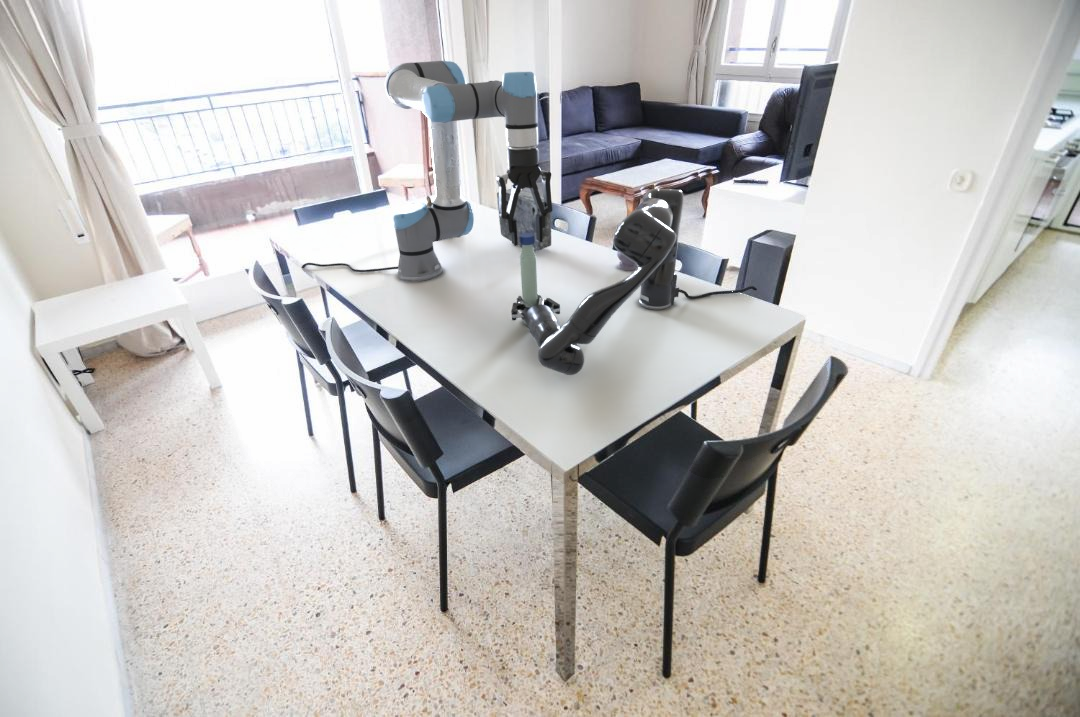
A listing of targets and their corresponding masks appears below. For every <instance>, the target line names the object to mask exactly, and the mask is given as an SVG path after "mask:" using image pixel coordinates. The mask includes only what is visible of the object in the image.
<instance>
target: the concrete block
mask: <svg viewBox="0 0 1080 717" xmlns="http://www.w3.org/2000/svg"><path fill="white" fill-rule="evenodd" d="M511 191H512V190H511V188H508V189H506V213H507V208H508V204H509V200H510V195H511ZM496 197H497V208H498V210H499V191H498V192H497V193H496ZM540 197H541V200H542V203H543V206H544V197H543V195H541V194H540ZM536 214H539V213H538V210H537V207H536V204H535V202H534V199H533V196H532V193H531V191H527V190H523V189H521V191H520V193H519V196H518V200H517V205H516V209H515V213H514V217H513V218H514V219H515V220H516V224H517V241H518V246H519V247H521V248H523V247H522V244H520V234H523V233H532V234H534V236H535V243H534V244H532V247H533V250H534V251H542V250H544V249H546V248H548V247H551V245H552V212H550V213H547V216H546V217H545V225H546V226H545V228H542V235H543V242H539V241H538V240H537V239H536ZM498 219H499V221H498V222H499V228H500V234H501V236H503V238H505V239H507V240H508V241H511V242H512V238H511V233H509V232H508V230H507V220H506V219H503V218H501V217H500V216H499V215H498Z"/></svg>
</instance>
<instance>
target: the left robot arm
mask: <svg viewBox="0 0 1080 717" xmlns="http://www.w3.org/2000/svg"><path fill="white" fill-rule="evenodd" d="M384 90H385V94H386V96H387V98H388V99H389V101H390V102H391V103H392V104H393V105H395V106H396V107H397V108H401V109H405V110H410V109H415V110H418V111H421V112H422V113H423V114H424V115H425V116H426V118H428V127H429V137H430V147H431V148H430V149H431V159H432V169H433V180H434V191H435V192H434V193H435V195H434V196H433V197H432V198H431V203H432V206H431V207H427V203H424V202H423V203H422V202H417V203H410V204H406V205H403V206H401V207H399V208H397V209H396V210H395V211H394V213H393V215H392V219H393V228H394V230H395V231H394V232H395V236H396V241H397V247H398V251H399V259H398V265H397V266H389V267H382V268H381V267H380V268H370V269H356V268H353V266H352V265H350V264H348V263H343V262H340V263H339V262H337V263H325V264H324V263H323V264H320V263H314V262H306V263H303V265H302V266H301V269H304V268H305V267H306V266H313V267H314V266H315V267H319V268H320V267H321V268H323V267H337V266H342V267H343V266H344V267H345V266H346V267H348V268H349V269H350V270H351V271H352V272H356V273H372V272H382V271H391V270H397V276H398V278H399V279H400V280H402V281H406V282H413V283H414V282H425V281H429V280H432V279H435V278H438V277H439V276H440V275H441V274H442V273H443V268H442V264H441V263H440V260H439V259H438V256H437V254H436V252H435V250H434V243H435V242H440V241H446V240H450V239H455V238H460V237H463V236H466V235H469V234H470V232H471V231H472V230H473V227H474V219H475V218H474V217H475V216H474V212H473V207H472V205H471V203H470V202H469V201H468V200H467V198H466V197H465V196H464V195H463V194H462V183H461V170H460V169H461V166H460V151H459V150H460V148H459V133H458V121H466V120H480V119H491V118H504V124H505V125H504V126H505V140H506V142H505V143H506V146H507V147H508V148H507V150H506V156H507V157H506V158H507V170H506V173H504V174H502V175H497V176H496V177H495V180H496V182H497V185H498V192H499V209H498V217H499V216H500V217H501V218H503V219H506V220H507V230H508V232H509V233H511V238H512V241H511V244H512V245H513V246H515V247H518V246H519V245H518V241H517V224H516V220H515V219H514V218H513V217H514V213H515V209H516V205H517V200H518V196H519V193H520V191H521V190H523V189H525V188H526V189H529V190H530V192H531V193H532V196H533V199H534V202H535V204H536V207H537V210H538V213H539V214H536V239H537V240H538V241H539V242H543V235H542V228H545V226H546V225H545V217H546V216H547V213H550V212H551V213H552V212H553V202H552V192H551V179H552V172H550V171H549V170H541V167H540V154H539V153H540V151H539V148H538V145H539V128H538V121H539V120H538V89H537V78H536V74H535V73H534V72H533V71H510V72H509V71H508V72H505V73H503V75H502V81H500V80H489V81H483V82H470V83H467V80H466V77H465V75H464V72H463V71H462V68H461V67H460V66H459V64H458V63H456V62H454V61H451V60H434V61H433V60H432V61H417V62H405V63H400V64H398V65H396V66H394V67H393V68H391V69H390V70H389V72H388V73H387V75H386V77H385V81H384ZM539 177H540V179H541V186H542V196H543V197H544V206H543V203H542V200H541V197H540V195H541V194H540V192H539V187H538V184H537V181H538V180H539ZM508 180H509V181H510V182H511V183H512V184H511V187H510V189H511V190H512V191H511V195H510V200H509V204H508V208H507V213H506V190H507V184H508Z"/></svg>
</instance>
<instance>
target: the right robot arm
mask: <svg viewBox="0 0 1080 717" xmlns="http://www.w3.org/2000/svg"><path fill="white" fill-rule="evenodd" d="M684 202H685V196H684V192H683V191H682V190H681V189H674V188H673V189H670V188H667V189H666V188H652V189H648V190H647V191H646V192H645V194H644V195H643V197H642V200H641V202H640V203H639V204H638V205H637V206H636V207H635V208H634V209H633V210H632V211H631V212H630V213H629V214H627V215H626V216H625V217H624V218H623V220H622V221H621V222H620V223H619V225H618V227H617V228H616V230H615V232H614V235H613V239H612V243H613V247H614V249H615V250H616V251H617V252H618V251H619V252H620V253H621V254H622V255H624V256H625V257H627V258H628V259H630V260H631V261H632V262H634V263H636V264H637V268H636V269H634V270H632V272H631V273H630V274H629V275H627V276H626V277H624V278H623V279H621V280H619V281H617V282H615V283H613V284H610V285H607V286H605V287H602V288H600V289H598V290H596V291H593V292H591V293H590V294H589V295H587V296H586V297H584V299H583V300H582V301H580V303H579V304H578V306H577V308H576V309H575V310H574V312H573V313H572V315H571V316H570V317H569V319H567V321H566V322H565V323H564V324H562V325H561V324H560V322H559V320H558V318H557V317H556V315H560V314H561V304H560V303H558V302H556V301H555V300H553V299H552V298H550V297H547V298H545V299H544V298H543V297H542V296H541V295H540V294H539V293H537V296H538V304H537V305H530V304H528V303H527V302H526V303H525V302H523V299H522V295H518V296H517V297H516V302H513V303H512V305H511V310H510V314H511V321H516V320H517V319H521V320H523V321H524V320H525V322H526V324H527V325H526V324H525V325H526V327H527V328H528V330H529V333H530V334H531V336H532V337H533V339H534V340H535V342H536V344H537V345H538V347H539V349H538V352H537V358H538V362H539V363H540V365H541V366H542V367H544V368H547V369H549V370H552V371H555V372H558V373H560V374H563V375H566V376H574V375H576V374H578V373H580V372H581V370H582V369H583V367H584V365H585V354H584V351H583V349H582V347H581V346H580V345H589V344H591V343H592V342H593V341H594V340H595V339H596V337H597V336H598V335H599V334H600V332H601V331H602V329H603V328H604V327H605V326H606V324H607V323H608V322H609V320H610V319H611V318H612V317H613V315H614V314H615V313H616V312H617V311H618V310H619V309H620V308H621V307H622V305H624V304H625V303H626V301H628V299H629V298H631V296H632V295H633V294H635V293H636V291H637V290H638V289H639V288H640V293H639V301H638V302H639V305H640V306H641V307H643V308H645V309H648V310H653V311H660V310H666V309H669V308H670V307H671V306H675V299H676V298H679V293H681V294H683V295H684V296H685V298H687V299H689V300H696V299H697V300H698V299H702V298H706V297H710V296H715V295H716V296H717V295H728V294H731V295H732V294H740V293H744V292H747V291H749V290H753V291H758V289H757V287H756V286H754V285H749V286H746V287H744V288H741V289H734V290H733V289H732V290H731V289H730V290H717V291H710V292H705V293H703V294H699V295H689V293H688V292H687V291H685V290H684V289H682V288H680V287H679V286H677V281H678V274H676V264H677V257H678V256H677V254H678V247H679V237H680V236H679V234H680V228H681V223H682V222H681V221H682V216H683V209H684ZM732 291H733V292H732ZM555 314H556V315H555Z"/></svg>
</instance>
